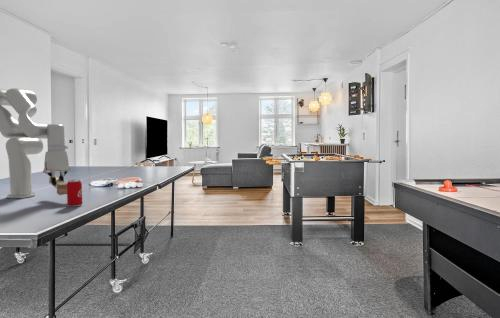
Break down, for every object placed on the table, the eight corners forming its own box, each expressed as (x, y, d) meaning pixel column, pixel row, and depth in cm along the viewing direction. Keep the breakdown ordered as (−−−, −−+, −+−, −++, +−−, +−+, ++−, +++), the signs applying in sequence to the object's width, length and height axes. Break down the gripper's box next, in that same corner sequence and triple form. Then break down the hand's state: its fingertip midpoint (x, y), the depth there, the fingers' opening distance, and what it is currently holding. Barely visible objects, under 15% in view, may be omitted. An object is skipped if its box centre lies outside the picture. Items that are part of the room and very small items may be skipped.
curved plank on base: (44, 183, 172) (44, 173, 171) (59, 181, 177) (59, 172, 176) (59, 194, 160) (59, 185, 159) (74, 193, 165) (75, 183, 164)
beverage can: (85, 205, 159) (84, 180, 158) (75, 207, 153) (74, 181, 152) (74, 204, 160) (74, 179, 160) (64, 206, 155) (63, 181, 154)
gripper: (70, 148, 177) (71, 182, 178) (35, 148, 165) (37, 185, 166) (76, 148, 172) (77, 183, 173) (40, 149, 160) (42, 187, 161)
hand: (57, 184), depth 170 cm, fingers closed on curved plank on base, 2 cm apart
